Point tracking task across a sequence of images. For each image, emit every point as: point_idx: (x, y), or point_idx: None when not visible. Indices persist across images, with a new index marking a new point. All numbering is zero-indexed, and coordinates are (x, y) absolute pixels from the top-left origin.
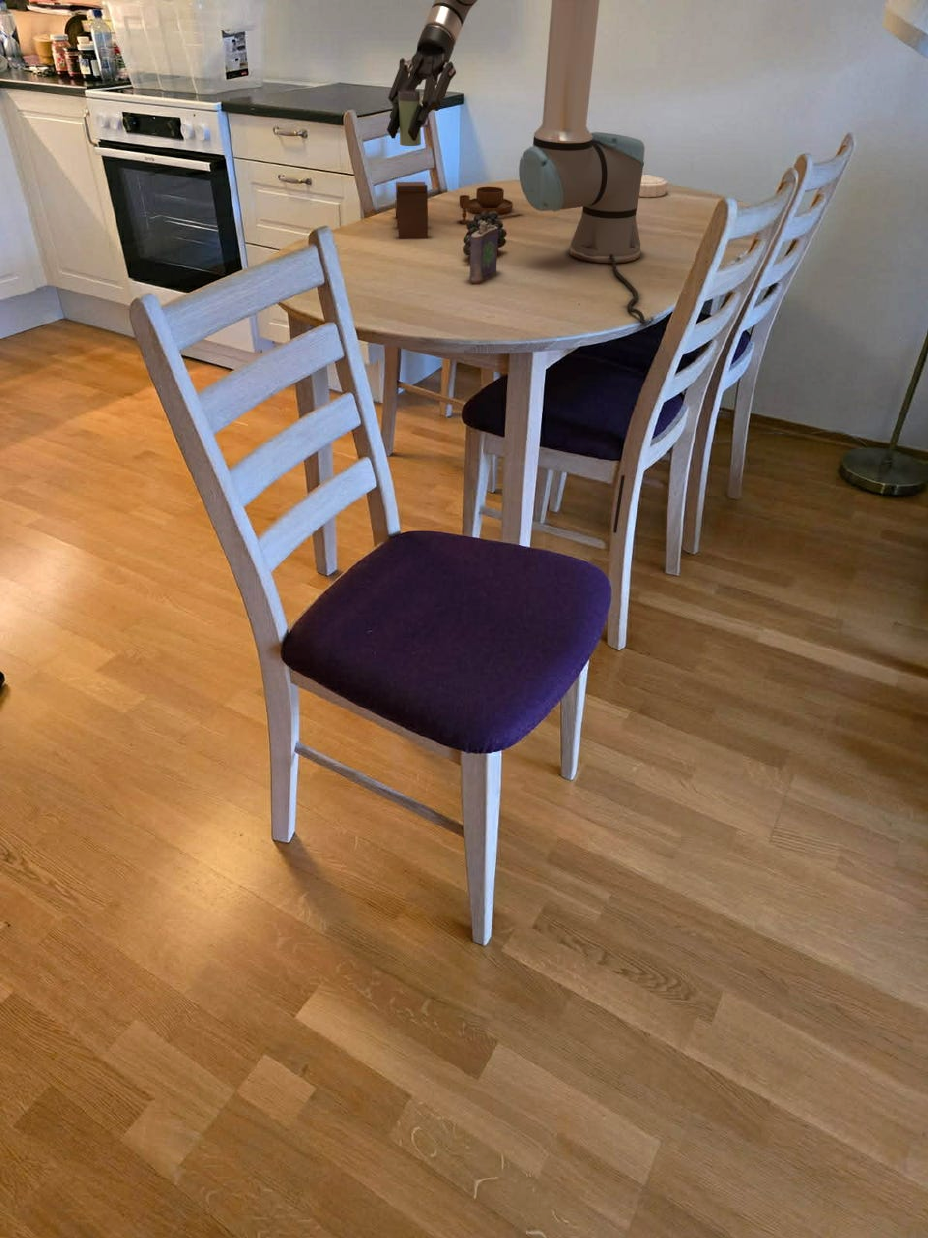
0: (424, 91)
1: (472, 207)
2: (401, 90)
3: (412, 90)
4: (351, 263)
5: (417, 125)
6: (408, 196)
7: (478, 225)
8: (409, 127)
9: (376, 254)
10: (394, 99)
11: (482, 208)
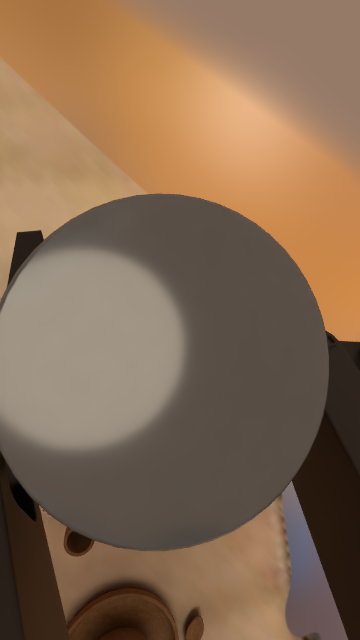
0: (11, 610)
1: (127, 591)
2: (320, 353)
3: (223, 483)
4: (49, 104)
5: None
6: None
7: None
8: (38, 244)
9: (55, 178)
10: (332, 337)
11: (95, 603)
